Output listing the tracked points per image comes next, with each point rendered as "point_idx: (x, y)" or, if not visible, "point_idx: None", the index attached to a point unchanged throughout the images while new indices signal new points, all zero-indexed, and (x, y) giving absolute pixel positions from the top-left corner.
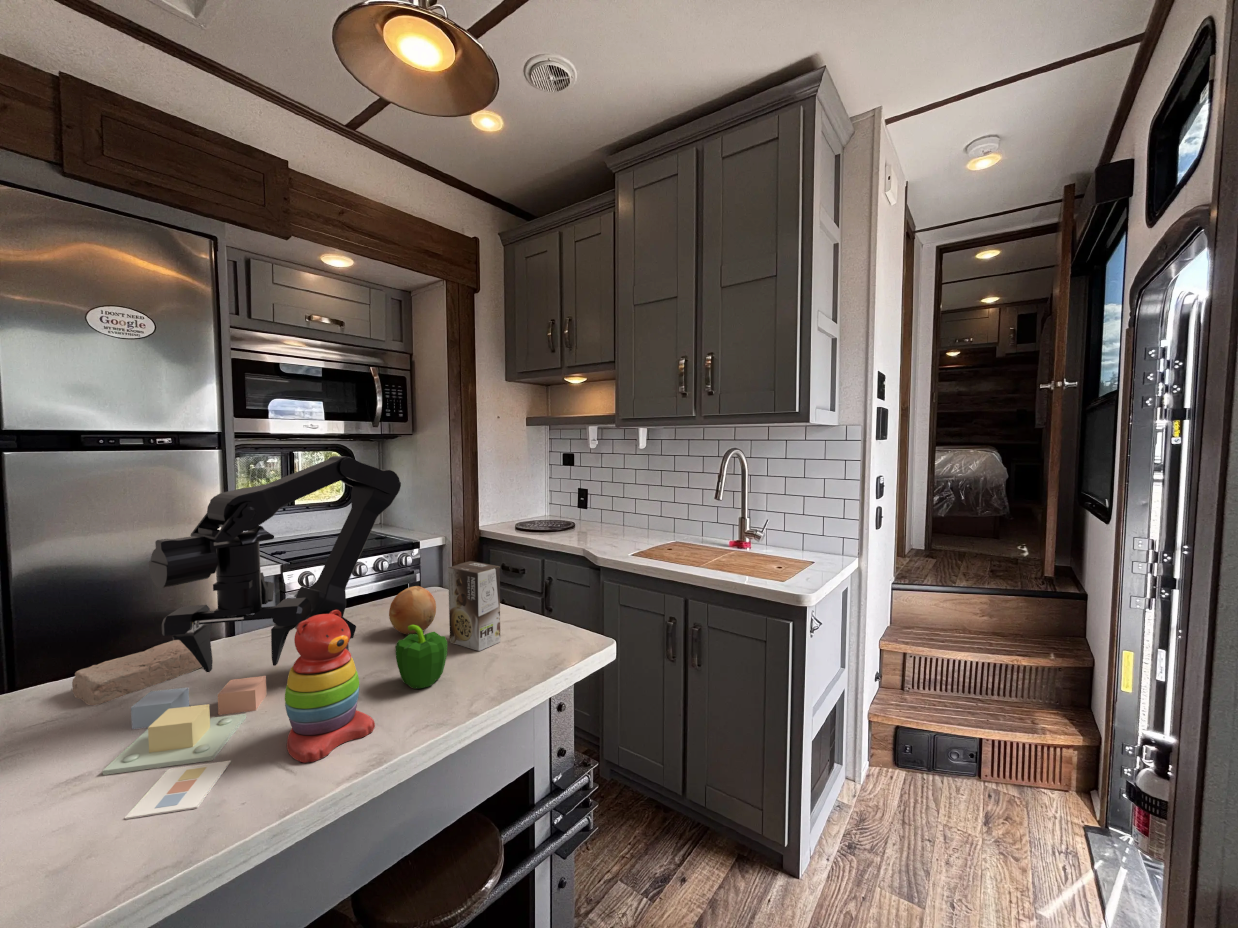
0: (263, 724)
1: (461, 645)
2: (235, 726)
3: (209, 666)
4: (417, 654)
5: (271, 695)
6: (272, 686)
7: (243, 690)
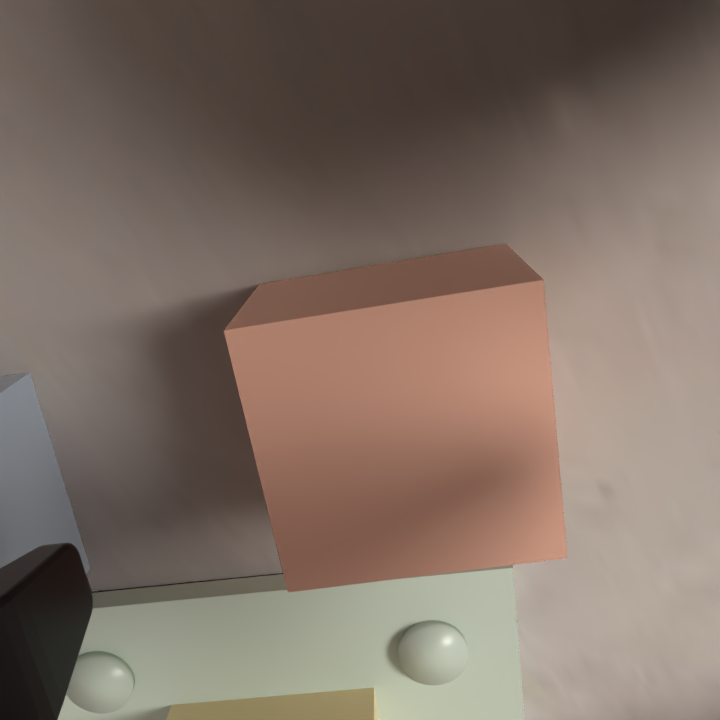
0: (651, 637)
1: None
2: (519, 695)
3: (66, 642)
4: None
5: (548, 255)
6: (487, 75)
7: (469, 554)
